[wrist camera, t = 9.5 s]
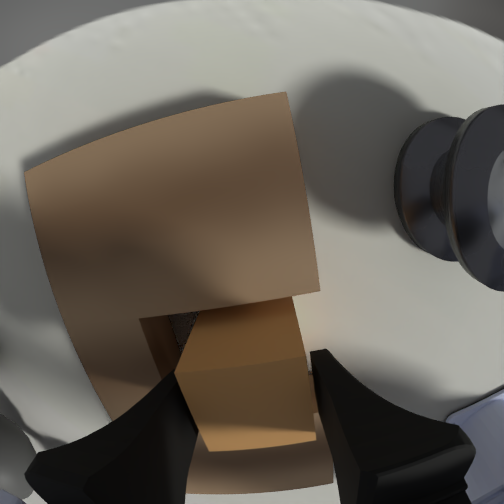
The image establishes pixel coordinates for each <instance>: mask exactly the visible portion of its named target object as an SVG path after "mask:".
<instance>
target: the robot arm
mask: <svg viewBox="0 0 504 504" xmlns="http://www.w3.org/2000/svg"><path fill="white" fill-rule="evenodd" d="M310 357H311V365H312V374H313V383H314V392H315V397H316V403H317V408H318V413H319V416H320V420H321V423H322V426H323V429H324V433H325V436H326V439H327V442H328V445H329V449H330V452H331V455H332V459H333V463H334V467H335V473H336V478H337V484H338V490H339V496H340V502H341V504H504V389H503V390H501V391H499V392H497V393H495V394H493V395H491V396H489V397H487V398H485V399H483V400H481V401H479V402H477V403H475V404H473V405H471V406H469V407H467V408H464V409H462V410H460V411H458V412H455V413H453V414H451V415H450V416H449V417H448V418H447V420H446V422H441V421H437V420H433V419H429V418H426V417H423V416H420V415H417V414H414V413H412V412H409V411H407V410H405V409H403V408H400V407H398V406H396V405H394V404H392V403H390V402H388V401H387V400H385V399H383V398H382V397H380V396H378V395H377V394H375V393H374V392H373V391H371V390H370V389H368V388H367V387H366V386H364V385H363V384H362V383H361V382H359V381H358V380H357V379H356V378H355V377H354V376H353V375H351V374H350V373H349V372H348V371H347V370H346V369H345V368H344V367H343V366H342V365H341V364H340V363H339V362H338V361H337V360H336V359H335V358H334V356H333V355H332V354H331V353H330V351H329V350H327V349H322V350H317V351H311V352H310ZM175 370H176V369H173V370H172V371H171V372H170V373H169V374H168V375H166V376H165V377H164V378H163V379H162V380H161V381H160V382H159V383H158V384H157V385H156V386H155V387H154V388H153V389H152V390H151V391H150V392H148V393H147V394H146V395H145V396H144V397H143V398H142V399H141V400H140V401H138V402H137V403H136V404H135V405H134V406H132V407H131V408H130V409H129V410H128V411H126V412H125V413H124V414H122V415H121V416H120V417H118V418H117V419H115V420H114V421H112V422H111V423H109V424H108V425H106V426H104V427H103V428H101V429H99V430H97V431H95V432H93V433H91V434H90V435H88V436H86V437H83V438H81V439H79V440H77V441H74V442H71V443H69V444H66V445H63V446H60V447H57V448H53V449H49V450H46V451H42V452H38V453H37V455H36V456H35V458H34V459H33V461H32V462H31V464H30V465H29V467H28V469H27V470H26V472H25V473H24V475H25V479H26V481H27V482H28V484H29V485H30V486H31V487H32V489H33V490H34V491H35V492H36V493H37V494H38V495H39V496H40V497H41V498H42V499H43V500H44V501H46V502H47V503H48V504H185V494H186V486H187V477H188V472H189V468H190V464H191V460H192V456H193V452H194V448H195V445H196V441H197V437H198V433H199V429H198V427H197V425H196V423H195V421H194V418H193V416H192V414H191V412H190V409H189V407H188V405H187V403H186V400H185V398H184V396H183V393H182V391H181V388H180V386H179V384H178V381H177V379H176V376H175V374H174V372H175ZM0 504H26V503H25V502H24V501H22V500H21V499H20V498H18V497H16V496H15V495H13V494H11V493H9V492H7V491H5V490H3V489H1V490H0Z"/></svg>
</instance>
